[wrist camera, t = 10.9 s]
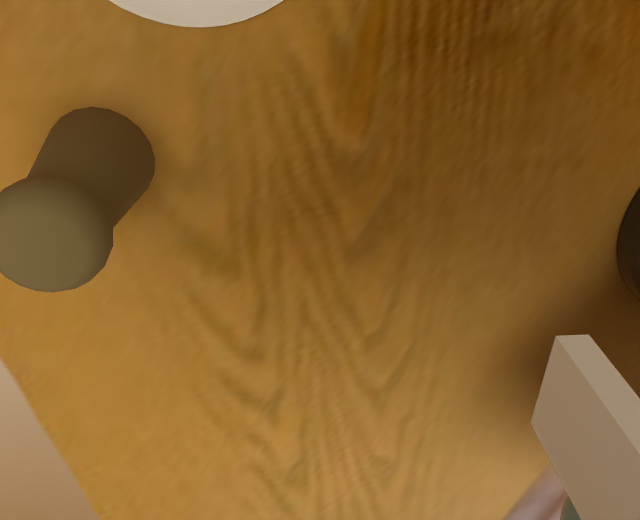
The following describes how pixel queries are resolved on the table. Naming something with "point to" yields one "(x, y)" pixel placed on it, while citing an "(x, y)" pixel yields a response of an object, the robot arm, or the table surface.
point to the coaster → (197, 10)
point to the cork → (73, 200)
